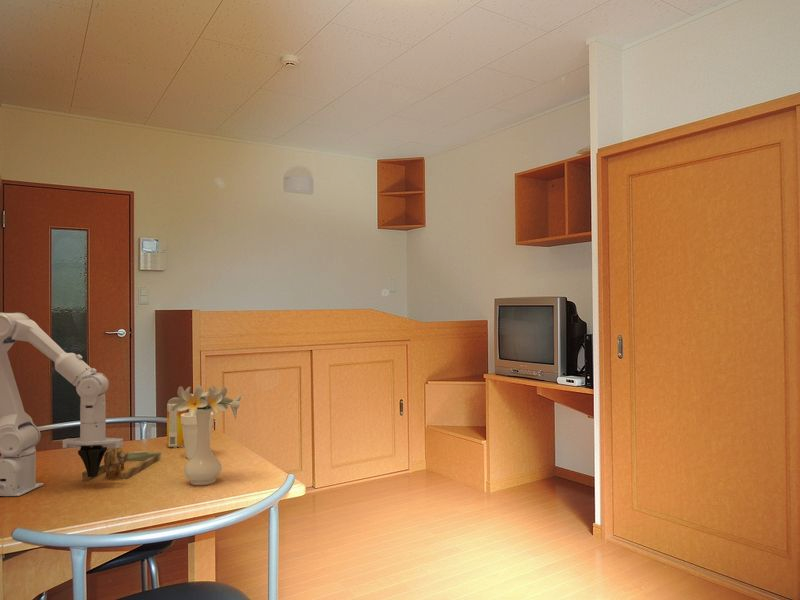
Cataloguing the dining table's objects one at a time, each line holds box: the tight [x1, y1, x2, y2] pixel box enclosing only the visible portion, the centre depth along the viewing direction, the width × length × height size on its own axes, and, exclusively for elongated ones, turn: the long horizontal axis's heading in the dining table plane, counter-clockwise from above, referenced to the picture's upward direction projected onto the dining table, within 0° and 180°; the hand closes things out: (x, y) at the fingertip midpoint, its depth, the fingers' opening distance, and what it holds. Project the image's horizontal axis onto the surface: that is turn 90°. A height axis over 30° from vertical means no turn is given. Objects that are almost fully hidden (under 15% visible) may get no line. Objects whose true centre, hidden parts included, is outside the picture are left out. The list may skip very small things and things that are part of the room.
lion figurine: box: [103, 447, 126, 479], centre depth 160 cm, size 15×5×9 cm, turn 27°
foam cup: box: [181, 411, 215, 459], centre depth 179 cm, size 10×9×13 cm
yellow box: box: [166, 403, 188, 448], centre depth 193 cm, size 6×6×15 cm
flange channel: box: [81, 450, 162, 482], centre depth 165 cm, size 22×11×2 cm, turn 178°
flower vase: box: [167, 384, 244, 486], centre depth 153 cm, size 13×18×25 cm
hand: (92, 476), depth 148 cm, fingers closed
